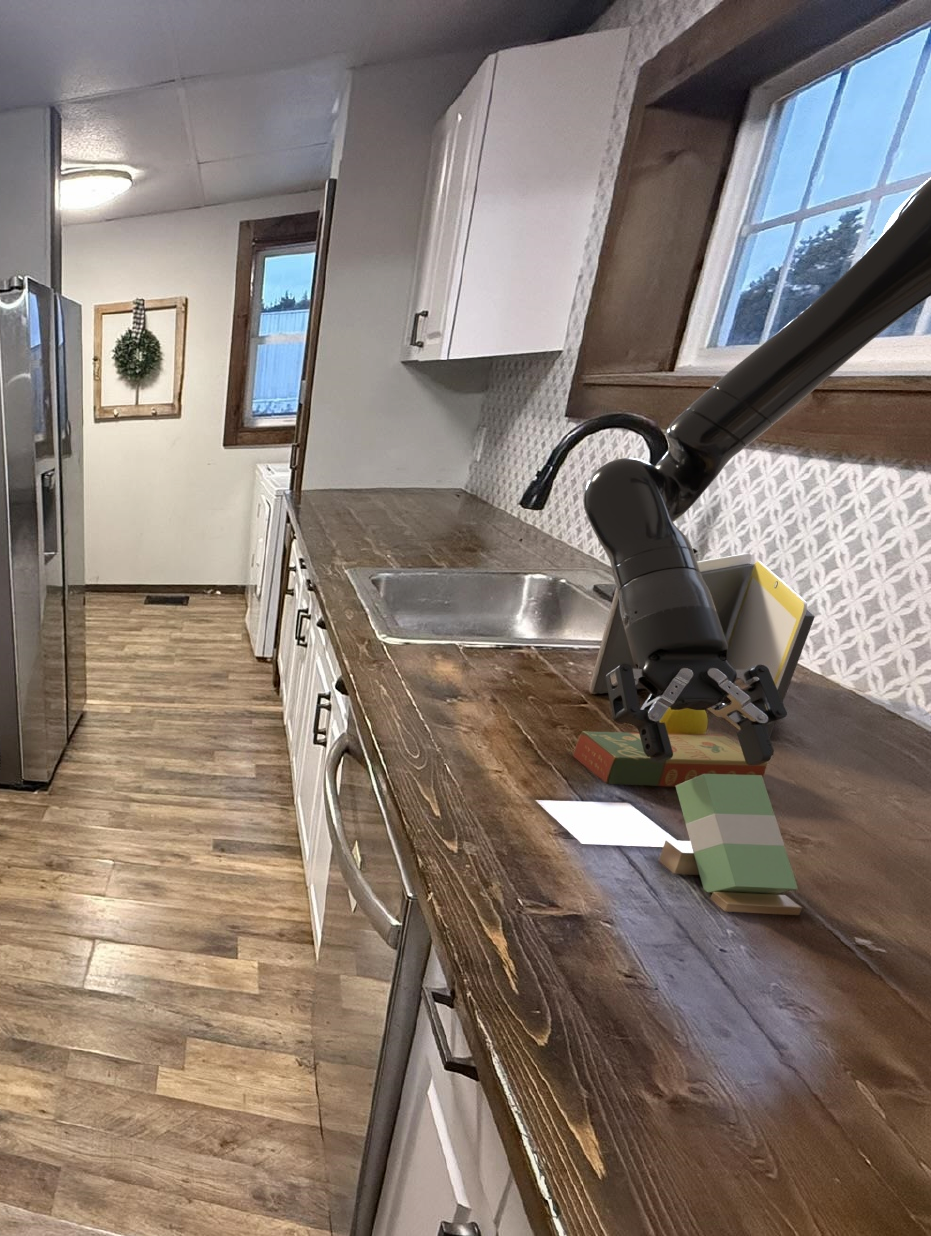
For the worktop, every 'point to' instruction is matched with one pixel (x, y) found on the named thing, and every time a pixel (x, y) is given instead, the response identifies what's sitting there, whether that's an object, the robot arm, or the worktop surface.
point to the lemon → (685, 721)
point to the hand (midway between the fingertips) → (711, 761)
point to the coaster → (606, 823)
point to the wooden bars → (684, 862)
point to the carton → (692, 757)
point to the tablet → (732, 623)
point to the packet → (735, 835)
